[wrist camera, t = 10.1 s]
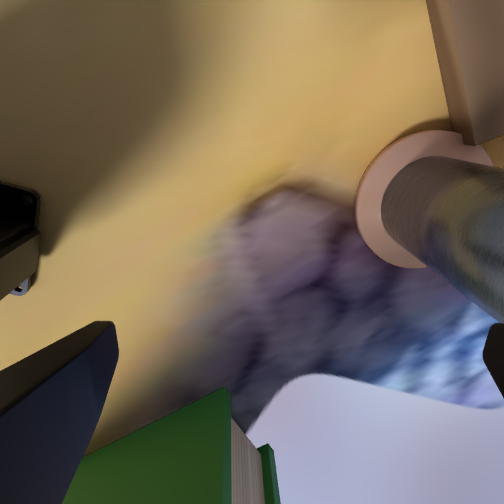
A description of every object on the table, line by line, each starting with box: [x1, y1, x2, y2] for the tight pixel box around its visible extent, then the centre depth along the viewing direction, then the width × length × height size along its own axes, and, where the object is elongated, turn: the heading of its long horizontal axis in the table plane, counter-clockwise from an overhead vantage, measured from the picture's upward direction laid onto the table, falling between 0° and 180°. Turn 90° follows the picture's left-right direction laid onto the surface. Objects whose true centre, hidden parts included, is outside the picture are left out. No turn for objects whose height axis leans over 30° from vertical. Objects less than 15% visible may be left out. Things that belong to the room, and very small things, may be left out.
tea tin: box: [381, 156, 504, 323], centre depth 15 cm, size 6×6×12 cm
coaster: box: [354, 130, 494, 269], centre depth 21 cm, size 8×8×1 cm
